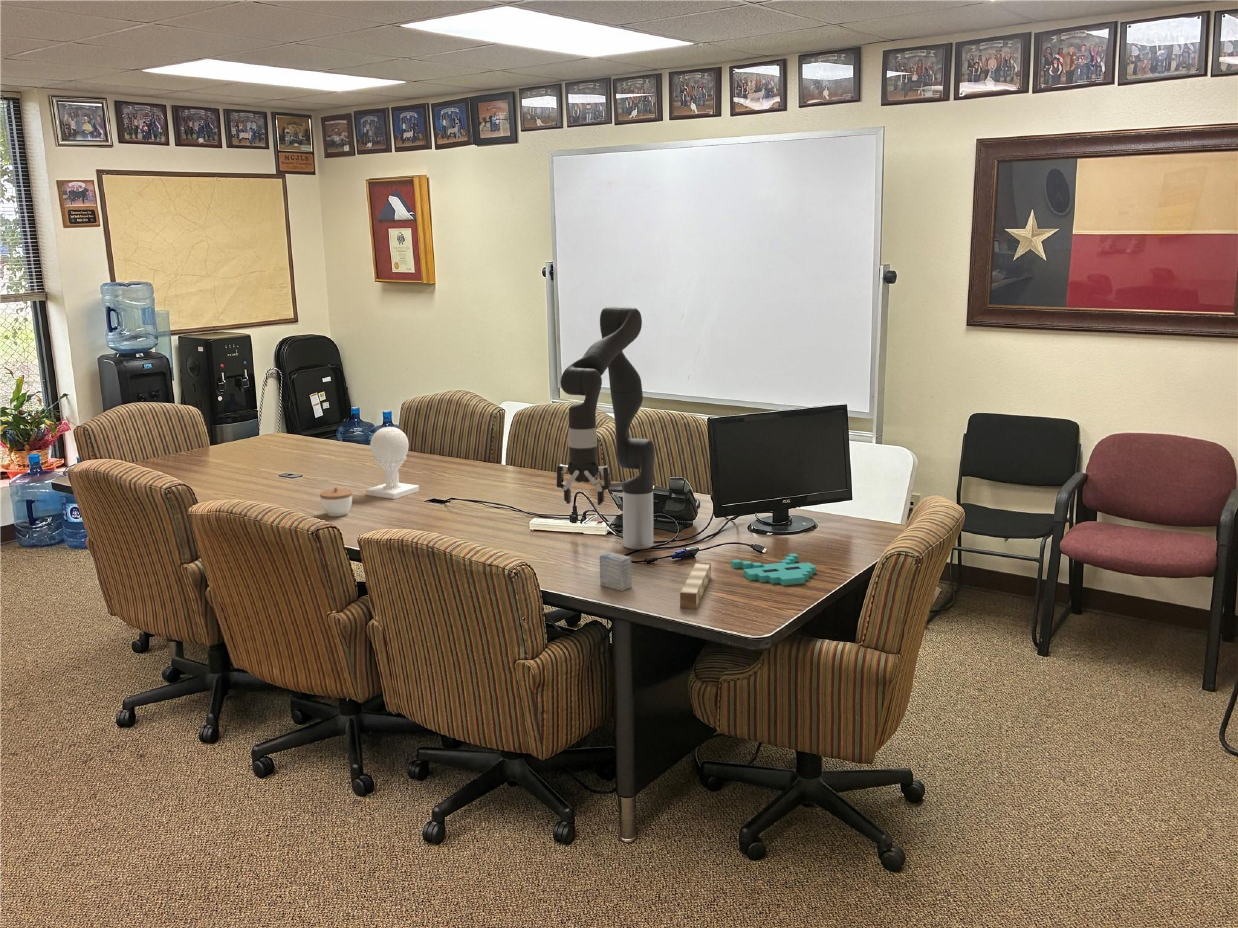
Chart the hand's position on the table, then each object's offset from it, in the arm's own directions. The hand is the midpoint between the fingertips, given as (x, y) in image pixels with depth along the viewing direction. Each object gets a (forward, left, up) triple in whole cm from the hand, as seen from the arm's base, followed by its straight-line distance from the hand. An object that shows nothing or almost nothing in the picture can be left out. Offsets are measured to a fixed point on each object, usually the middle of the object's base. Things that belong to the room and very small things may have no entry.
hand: (584, 503), depth 277 cm
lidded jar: (-56, -104, -24) cm, 120 cm away
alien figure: (-23, +50, -24) cm, 60 cm away
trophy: (-88, -98, -24) cm, 134 cm away
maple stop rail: (-3, +30, -24) cm, 38 cm away
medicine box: (-3, +8, -24) cm, 25 cm away
